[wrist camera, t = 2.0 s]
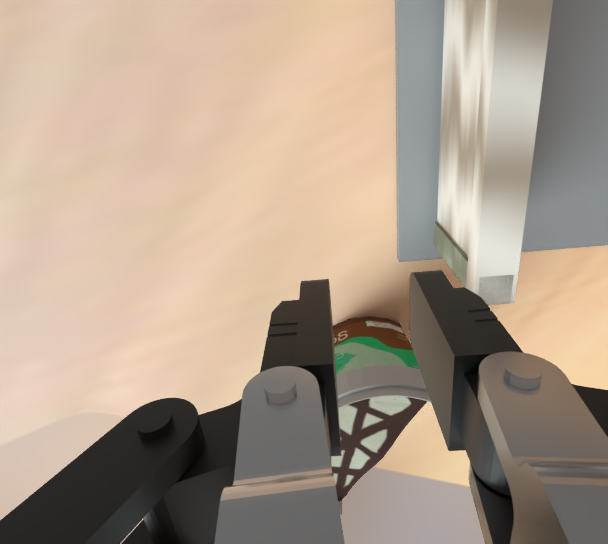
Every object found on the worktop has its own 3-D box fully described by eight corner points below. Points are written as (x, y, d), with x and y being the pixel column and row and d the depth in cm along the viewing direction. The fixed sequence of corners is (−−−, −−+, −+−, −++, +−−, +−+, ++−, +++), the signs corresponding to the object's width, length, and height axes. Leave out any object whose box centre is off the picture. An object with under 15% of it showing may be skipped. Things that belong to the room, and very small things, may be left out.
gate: (437, -2, 22) (501, -46, 15) (475, -7, 22) (560, -54, 14) (430, 244, 28) (473, 306, 21) (460, 241, 28) (514, 303, 20)
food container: (343, 275, 31) (353, 355, 22) (410, 309, 32) (446, 398, 23) (272, 386, 36) (256, 488, 27) (332, 412, 37) (337, 519, 28)
